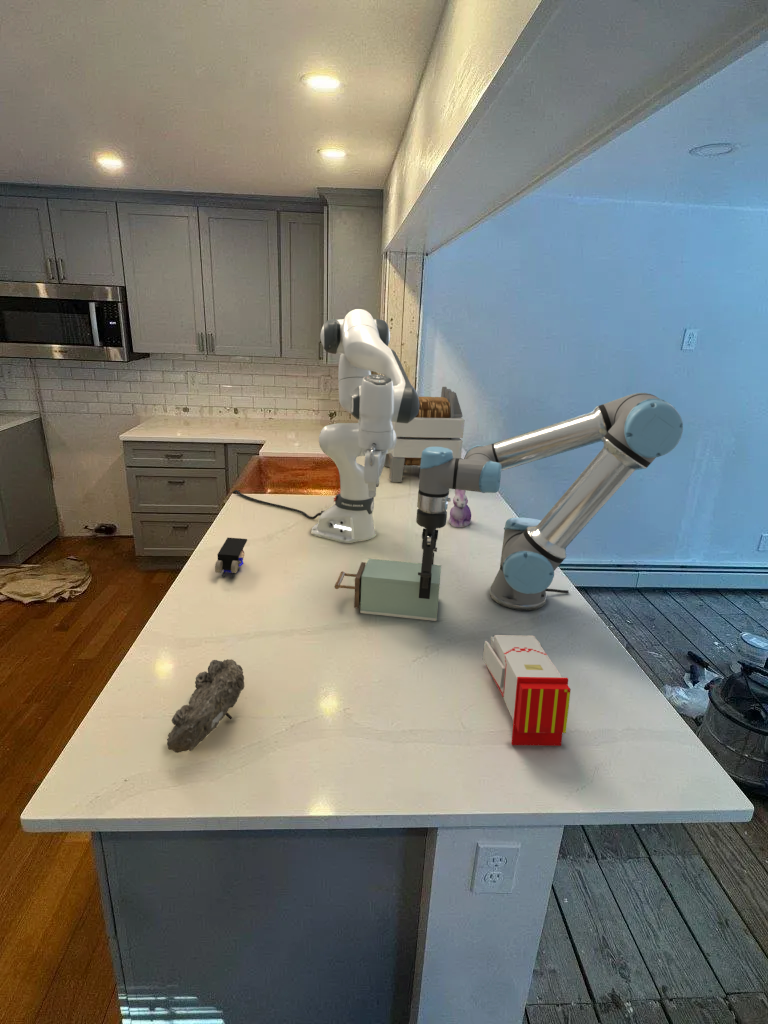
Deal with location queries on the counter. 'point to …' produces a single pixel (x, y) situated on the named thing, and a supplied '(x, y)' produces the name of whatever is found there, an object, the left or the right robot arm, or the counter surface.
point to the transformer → (427, 432)
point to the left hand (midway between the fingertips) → (373, 491)
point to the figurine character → (230, 556)
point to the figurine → (460, 510)
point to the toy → (529, 689)
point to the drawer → (357, 583)
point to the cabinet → (398, 590)
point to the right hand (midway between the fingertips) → (425, 585)
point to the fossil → (206, 705)
